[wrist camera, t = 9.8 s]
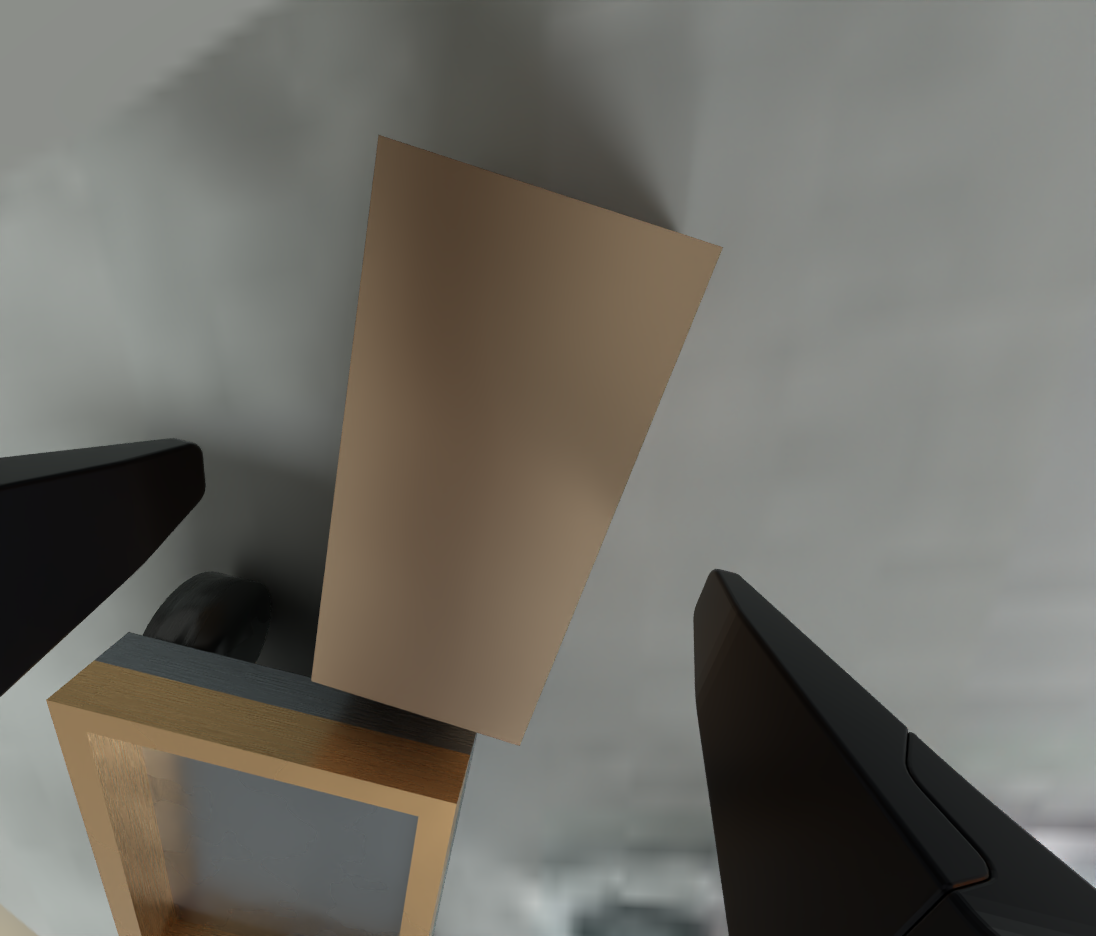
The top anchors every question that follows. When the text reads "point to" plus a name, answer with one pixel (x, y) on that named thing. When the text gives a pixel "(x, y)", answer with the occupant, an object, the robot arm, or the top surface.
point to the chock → (488, 430)
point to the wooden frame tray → (254, 783)
